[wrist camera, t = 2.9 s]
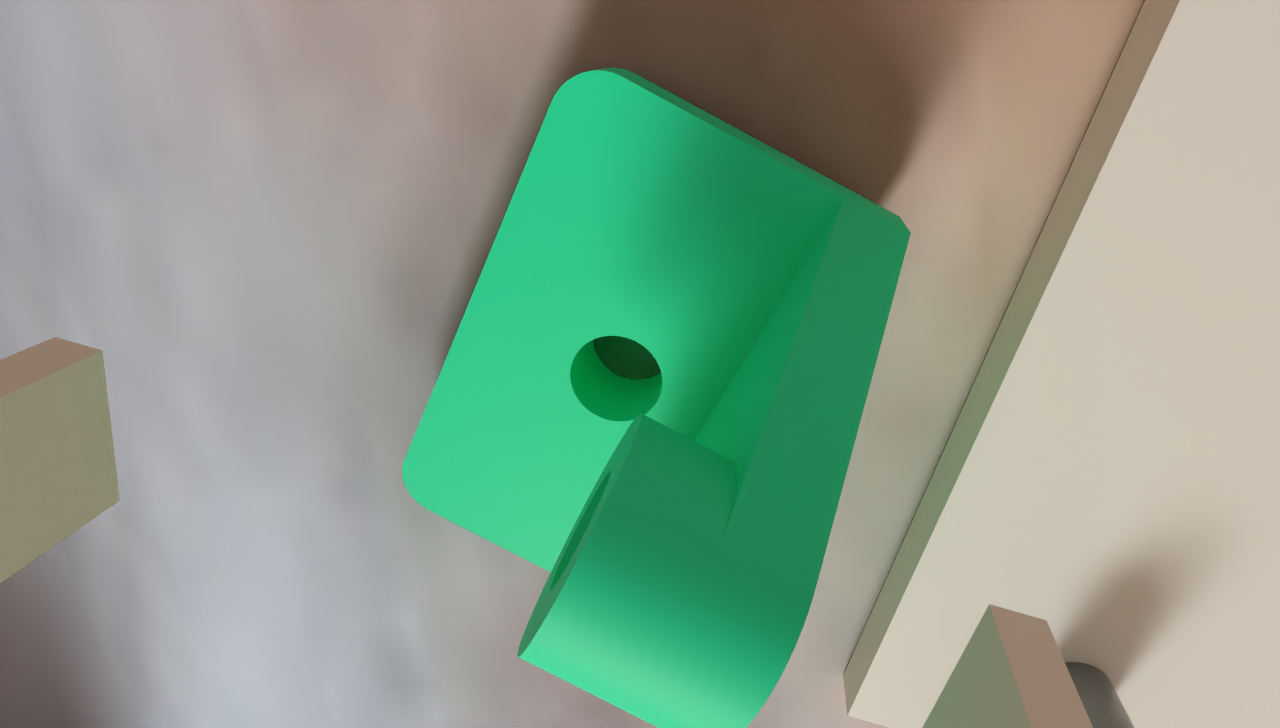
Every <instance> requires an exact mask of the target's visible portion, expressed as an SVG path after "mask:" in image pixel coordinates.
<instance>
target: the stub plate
mask: <svg viewBox="0 0 1280 728" xmlns="http://www.w3.org/2000/svg"><path fill="white" fill-rule="evenodd" d="M989 604H991V605H994V606H998V607H1001V608H1005V609H1008V610H1012V611H1015V612H1019V613H1022V614H1026V615H1029V616H1033V617H1036V618H1040V619H1043V620H1047V623H1048V625H1049V627H1050V630H1051V632H1052V634H1053V636H1054V639H1055V641H1056V643H1057V646H1058V648H1059V650H1060V653H1061V655H1062V657H1063V660H1064V662H1065V664H1066V666H1067V669H1068V671H1069V673H1070V676H1071V678H1072V680H1073V683H1074V685H1075V687H1076V689H1077V692H1078V694H1079V696H1080V699H1081V701H1082V703H1083V706H1084V708H1085V710H1086V713H1087V715H1088V717H1089V719H1090V722H1091V724H1092V726H1093V728H1280V0H1145V2H1144V4H1143V6H1142V8H1141V10H1140V13H1139V15H1138V17H1137V19H1136V22H1135V24H1134V26H1133V28H1132V31H1131V33H1130V35H1129V37H1128V40H1127V42H1126V44H1125V46H1124V49H1123V51H1122V53H1121V55H1120V57H1119V60H1118V62H1117V64H1116V66H1115V69H1114V71H1113V73H1112V75H1111V78H1110V80H1109V82H1108V84H1107V87H1106V89H1105V91H1104V93H1103V96H1102V98H1101V100H1100V102H1099V104H1098V107H1097V109H1096V111H1095V113H1094V116H1093V118H1092V120H1091V122H1090V125H1089V127H1088V129H1087V131H1086V134H1085V136H1084V138H1083V140H1082V142H1081V145H1080V147H1079V149H1078V151H1077V154H1076V156H1075V158H1074V160H1073V163H1072V165H1071V167H1070V169H1069V172H1068V174H1067V176H1066V178H1065V181H1064V183H1063V185H1062V187H1061V189H1060V192H1059V194H1058V196H1057V198H1056V201H1055V203H1054V205H1053V207H1052V210H1051V212H1050V214H1049V216H1048V219H1047V221H1046V223H1045V225H1044V228H1043V230H1042V232H1041V234H1040V236H1039V239H1038V241H1037V243H1036V245H1035V248H1034V250H1033V252H1032V254H1031V257H1030V259H1029V261H1028V263H1027V266H1026V268H1025V270H1024V272H1023V274H1022V277H1021V279H1020V281H1019V283H1018V286H1017V288H1016V290H1015V292H1014V295H1013V297H1012V299H1011V301H1010V304H1009V306H1008V308H1007V310H1006V313H1005V315H1004V317H1003V319H1002V321H1001V324H1000V326H999V328H998V330H997V333H996V335H995V337H994V339H993V342H992V344H991V346H990V348H989V351H988V353H987V355H986V357H985V360H984V362H983V364H982V366H981V368H980V371H979V373H978V375H977V377H976V380H975V382H974V384H973V386H972V389H971V391H970V393H969V395H968V398H967V400H966V402H965V404H964V406H963V409H962V411H961V413H960V415H959V418H958V420H957V422H956V424H955V427H954V429H953V431H952V433H951V436H950V438H949V440H948V442H947V445H946V447H945V449H944V451H943V453H942V456H941V458H940V460H939V462H938V465H937V467H936V469H935V471H934V474H933V476H932V478H931V480H930V483H929V485H928V487H927V489H926V492H925V494H924V496H923V498H922V500H921V503H920V505H919V507H918V509H917V512H916V514H915V516H914V518H913V521H912V523H911V525H910V527H909V530H908V532H907V534H906V536H905V538H904V541H903V543H902V545H901V547H900V550H899V552H898V554H897V556H896V559H895V561H894V563H893V565H892V568H891V570H890V572H889V574H888V577H887V579H886V581H885V583H884V585H883V588H882V590H881V592H880V594H879V597H878V599H877V601H876V603H875V606H874V608H873V610H872V612H871V615H870V617H869V619H868V621H867V624H866V626H865V628H864V630H863V632H862V635H861V637H860V639H859V641H858V644H857V646H856V648H855V650H854V653H853V655H852V657H851V659H850V662H849V664H848V666H847V668H846V670H845V673H844V675H843V677H844V686H845V696H846V706H847V715H848V716H851V717H854V718H858V719H861V720H864V721H868V722H871V723H875V724H878V725H882V726H885V727H889V728H922V727H923V726H924V724H925V722H926V720H927V718H928V716H929V714H930V713H931V711H932V709H933V707H934V705H935V703H936V701H937V700H938V698H939V696H940V694H941V692H942V690H943V689H944V687H945V685H946V683H947V681H948V679H949V677H950V676H951V674H952V672H953V670H954V668H955V666H956V665H957V663H958V661H959V659H960V657H961V655H962V653H963V652H964V650H965V648H966V646H967V644H968V642H969V641H970V639H971V637H972V635H973V633H974V631H975V629H976V628H977V626H978V624H979V622H980V620H981V618H982V616H983V615H984V613H985V611H986V609H987V607H988V605H989Z"/></svg>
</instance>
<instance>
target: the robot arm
mask: <svg viewBox="0 0 1280 728" xmlns="http://www.w3.org/2000/svg"><path fill="white" fill-rule="evenodd" d="M118 501H119V492H118V483H117V475H116V466H115V457H114V449H113V440H112V431H111V423H110V414H109V405H108V397H107V388H106V379H105V371H104V362H103V353H102V350H98V349H95V348H91V347H88V346H84V345H81V344H77V343H74V342H70V341H67V340H63V339H60V338H56V337H55V338H52V339H50V340H48V341H45V342H43V343H40V344H38V345H36V346H33V347H31V348H28V349H26V350H24V351H21V352H19V353H16V354H14V355H12V356H9V357H7V358H4V359H2V360H0V583H2V582H3V581H5V580H6V579H8V578H9V577H11V576H12V575H13V574H15V573H16V572H18V571H19V570H21V569H22V568H23V567H25V566H26V565H28V564H29V563H31V562H32V561H33V560H35V559H36V558H38V557H39V556H41V555H42V554H43V553H45V552H46V551H48V550H49V549H51V548H52V547H53V546H55V545H56V544H58V543H59V542H61V541H62V540H64V539H65V538H66V537H68V536H69V535H71V534H72V533H74V532H75V531H76V530H78V529H79V528H81V527H82V526H84V525H85V524H86V523H88V522H89V521H91V520H92V519H94V518H95V517H96V516H98V515H99V514H101V513H102V512H104V511H105V510H106V509H108V508H109V507H111V506H112V505H114V504H115V503H116V502H118ZM922 728H1093V726H1092V724H1091V722H1090V719H1089V717H1088V715H1087V713H1086V710H1085V708H1084V706H1083V703H1082V701H1081V699H1080V696H1079V694H1078V692H1077V689H1076V687H1075V685H1074V683H1073V680H1072V678H1071V676H1070V673H1069V671H1068V669H1067V666H1066V664H1065V662H1064V660H1063V657H1062V655H1061V653H1060V650H1059V648H1058V646H1057V643H1056V641H1055V639H1054V636H1053V634H1052V632H1051V630H1050V627H1049V625H1048V623H1047V620H1043V619H1040V618H1036V617H1033V616H1029V615H1026V614H1022V613H1019V612H1015V611H1012V610H1008V609H1005V608H1001V607H998V606H994V605H991V604H989V605H988V607H987V609H986V611H985V613H984V615H983V616H982V618H981V620H980V622H979V624H978V626H977V628H976V629H975V631H974V633H973V635H972V637H971V639H970V641H969V642H968V644H967V646H966V648H965V650H964V652H963V653H962V655H961V657H960V659H959V661H958V663H957V665H956V666H955V668H954V670H953V672H952V674H951V676H950V677H949V679H948V681H947V683H946V685H945V687H944V689H943V690H942V692H941V694H940V696H939V698H938V700H937V701H936V703H935V705H934V707H933V709H932V711H931V713H930V714H929V716H928V718H927V720H926V722H925V724H924V726H923V727H922Z"/></svg>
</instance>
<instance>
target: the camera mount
mask: <svg viewBox="0 0 1280 728" xmlns="http://www.w3.org/2000/svg"><path fill="white" fill-rule="evenodd" d="M909 237H910V231H909V230H908V228H907V227H906V225H905V224H904V223H903V221H902V220H901V218H900V217H899V216H897V215H896V214H894V213H892V212H890V211H888V210H886V209H884V208H883V207H881V206H879V205H877V204H875V203H873V202H872V201H870V200H868V199H866V198H864V197H862V196H860V195H859V194H857V193H855V192H853V191H851V190H849V189H848V188H846V187H844V186H842V185H840V184H838V183H836V182H835V181H833V180H831V179H829V178H827V177H825V176H824V175H822V174H820V173H818V172H816V171H814V170H812V169H811V168H809V167H807V166H805V165H803V164H801V163H800V162H798V161H796V160H794V159H792V158H790V157H789V156H787V155H785V154H783V153H781V152H779V151H777V150H776V149H774V148H772V147H770V146H768V145H766V144H765V143H763V142H761V141H759V140H757V139H755V138H753V137H752V136H750V135H748V134H746V133H744V132H742V131H741V130H739V129H737V128H735V127H733V126H731V125H729V124H728V123H726V122H724V121H722V120H720V119H718V118H717V117H715V116H713V115H711V114H709V113H707V112H705V111H704V110H702V109H700V108H698V107H696V106H694V105H693V104H691V103H689V102H687V101H685V100H683V99H681V98H680V97H678V96H676V95H674V94H672V93H670V92H669V91H667V90H665V89H663V88H661V87H659V86H657V85H656V84H654V83H652V82H650V81H648V80H646V79H645V78H643V77H641V76H639V75H637V74H635V73H633V72H631V71H629V70H626V69H621V68H604V69H598V70H592V71H587V72H583V73H580V74H578V75H576V76H574V77H572V78H570V79H569V80H568V81H566V82H565V83H564V84H563V85H562V86H561V87H560V88H559V90H558V91H557V92H556V94H555V96H554V97H553V100H552V102H551V104H550V106H549V109H548V111H547V114H546V116H545V119H544V121H543V124H542V126H541V128H540V131H539V133H538V136H537V138H536V141H535V143H534V145H533V148H532V150H531V153H530V155H529V158H528V160H527V163H526V165H525V167H524V170H523V172H522V175H521V177H520V180H519V182H518V184H517V187H516V189H515V192H514V194H513V197H512V199H511V202H510V204H509V206H508V209H507V211H506V214H505V216H504V219H503V221H502V223H501V226H500V228H499V231H498V233H497V236H496V238H495V241H494V243H493V245H492V248H491V250H490V253H489V255H488V258H487V260H486V262H485V265H484V267H483V270H482V272H481V275H480V277H479V280H478V282H477V284H476V287H475V289H474V292H473V294H472V297H471V299H470V302H469V304H468V306H467V309H466V311H465V314H464V316H463V319H462V321H461V323H460V326H459V328H458V331H457V333H456V336H455V338H454V341H453V343H452V345H451V348H450V350H449V353H448V355H447V358H446V360H445V362H444V365H443V367H442V370H441V372H440V375H439V377H438V380H437V382H436V384H435V387H434V389H433V392H432V394H431V397H430V399H429V401H428V404H427V406H426V409H425V411H424V414H423V416H422V419H421V421H420V423H419V426H418V428H417V431H416V433H415V436H414V438H413V440H412V443H411V445H410V448H409V450H408V453H407V455H406V458H405V460H404V463H403V467H402V476H403V480H404V484H405V486H406V488H407V490H408V492H409V493H410V495H411V496H412V497H413V498H414V499H415V500H416V501H417V502H418V503H419V504H420V505H421V506H423V507H424V508H426V509H428V510H430V511H432V512H434V513H436V514H438V515H440V516H442V517H443V518H445V519H447V520H449V521H451V522H453V523H455V524H457V525H459V526H461V527H463V528H465V529H467V530H469V531H471V532H473V533H475V534H477V535H479V536H481V537H483V538H485V539H487V540H489V541H490V542H492V543H494V544H496V545H498V546H500V547H502V548H504V549H506V550H508V551H510V552H512V553H514V554H516V555H518V556H520V557H522V558H524V559H526V560H528V561H530V562H532V563H534V564H536V565H537V566H539V567H541V568H543V569H545V570H547V571H549V572H551V573H550V575H549V578H548V580H547V582H546V584H545V586H544V588H543V590H542V593H541V595H540V597H539V599H538V602H537V604H536V606H535V608H534V611H533V613H532V615H531V618H530V620H529V622H528V625H527V627H526V630H525V632H524V635H523V638H522V640H521V643H520V646H519V650H518V657H520V658H522V659H523V660H525V661H527V662H529V663H531V664H533V665H535V666H537V667H539V668H541V669H543V670H545V671H547V672H549V673H551V674H553V675H555V676H557V677H559V678H561V679H563V680H565V681H567V682H569V683H571V684H573V685H575V686H577V687H579V688H581V689H583V690H585V691H587V692H589V693H591V694H593V695H595V696H597V697H599V698H601V699H603V700H605V701H607V702H609V703H611V704H613V705H615V706H617V707H619V708H621V709H623V710H625V711H627V712H628V713H630V714H632V715H634V716H636V717H638V718H640V719H642V720H644V721H646V722H648V723H650V724H652V725H654V726H656V727H658V728H746V727H747V726H748V725H749V724H750V723H751V721H752V720H753V719H754V717H755V716H756V715H757V714H758V712H759V711H760V709H761V708H762V706H763V705H764V703H765V702H766V700H767V699H768V697H769V695H770V694H771V692H772V691H773V689H774V687H775V685H776V684H777V682H778V680H779V678H780V676H781V675H782V673H783V671H784V669H785V667H786V665H787V663H788V661H789V659H790V656H791V654H792V652H793V650H794V648H795V645H796V643H797V641H798V638H799V636H800V633H801V631H802V628H803V626H804V623H805V620H806V617H807V614H808V611H809V608H810V605H811V602H812V599H813V595H814V592H815V588H816V584H817V581H818V577H819V573H820V569H821V566H822V562H823V558H824V554H825V551H826V547H827V543H828V539H829V536H830V532H831V528H832V525H833V521H834V517H835V513H836V510H837V506H838V502H839V498H840V495H841V491H842V487H843V483H844V480H845V476H846V472H847V468H848V465H849V461H850V457H851V454H852V450H853V446H854V442H855V439H856V435H857V431H858V427H859V424H860V420H861V416H862V412H863V409H864V405H865V401H866V397H867V394H868V390H869V386H870V383H871V379H872V375H873V371H874V368H875V364H876V360H877V356H878V353H879V349H880V345H881V341H882V338H883V334H884V330H885V326H886V323H887V319H888V315H889V312H890V308H891V304H892V300H893V297H894V293H895V289H896V285H897V282H898V278H899V274H900V270H901V267H902V263H903V259H904V255H905V252H906V248H907V244H908V241H909ZM604 336H621V337H625V338H629V339H631V340H634V341H636V342H638V343H639V344H641V345H642V346H644V347H645V348H646V349H647V350H648V351H649V352H650V353H651V354H652V355H653V357H654V358H655V360H656V361H657V363H658V365H659V367H660V371H661V372H660V373H659V374H657V375H655V376H653V377H650V378H646V379H639V380H635V379H628V378H624V377H621V376H619V375H616V374H615V373H613V372H612V371H610V370H609V369H608V368H607V367H605V365H604V364H603V363H602V362H601V361H600V359H599V357H598V356H597V353H596V351H595V348H594V343H593V340H594V339H596V338H599V337H604Z"/></svg>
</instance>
